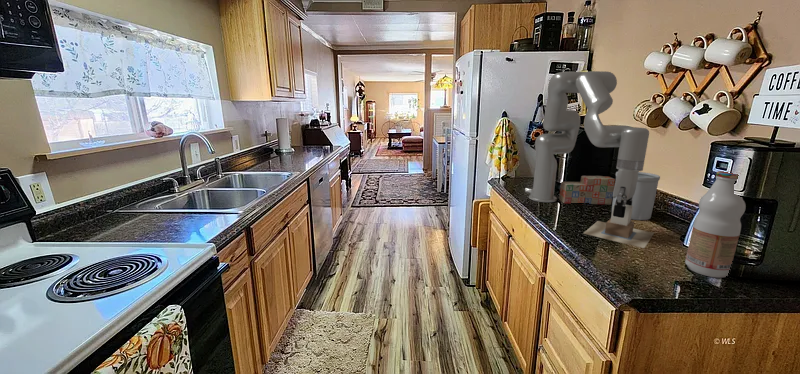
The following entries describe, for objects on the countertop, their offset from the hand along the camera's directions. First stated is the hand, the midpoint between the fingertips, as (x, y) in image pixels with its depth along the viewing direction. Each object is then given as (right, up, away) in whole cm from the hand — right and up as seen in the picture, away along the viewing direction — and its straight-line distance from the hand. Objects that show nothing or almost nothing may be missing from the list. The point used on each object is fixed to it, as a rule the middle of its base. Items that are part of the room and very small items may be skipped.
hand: (621, 213), depth 118 cm
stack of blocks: (+10, +2, +42) cm, 44 cm away
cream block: (0, -3, +1) cm, 3 cm away
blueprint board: (0, -8, +2) cm, 8 cm away
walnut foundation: (0, -7, +2) cm, 7 cm away
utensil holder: (+19, -3, +24) cm, 31 cm away
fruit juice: (+9, -14, -23) cm, 28 cm away
